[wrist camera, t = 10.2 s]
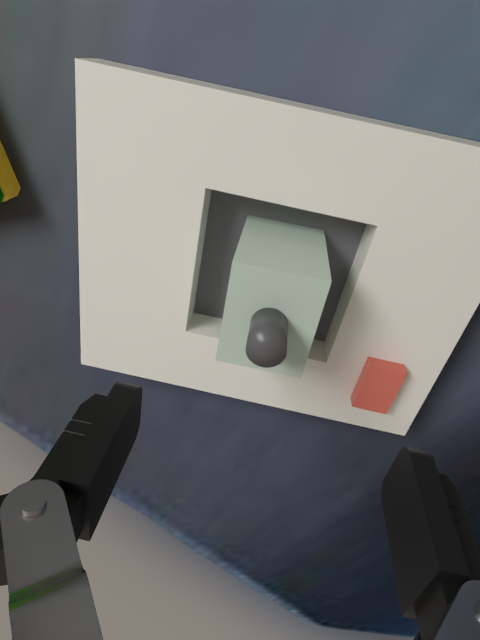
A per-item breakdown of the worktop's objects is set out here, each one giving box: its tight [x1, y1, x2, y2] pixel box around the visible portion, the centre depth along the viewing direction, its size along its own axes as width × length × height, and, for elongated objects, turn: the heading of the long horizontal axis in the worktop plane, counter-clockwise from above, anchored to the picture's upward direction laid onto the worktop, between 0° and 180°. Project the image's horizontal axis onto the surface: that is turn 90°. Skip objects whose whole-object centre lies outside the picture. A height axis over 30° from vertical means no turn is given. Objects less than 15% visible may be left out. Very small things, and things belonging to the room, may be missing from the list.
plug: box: [215, 215, 332, 378], centre depth 20 cm, size 4×5×8 cm
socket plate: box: [75, 58, 480, 436], centre depth 22 cm, size 20×16×3 cm
